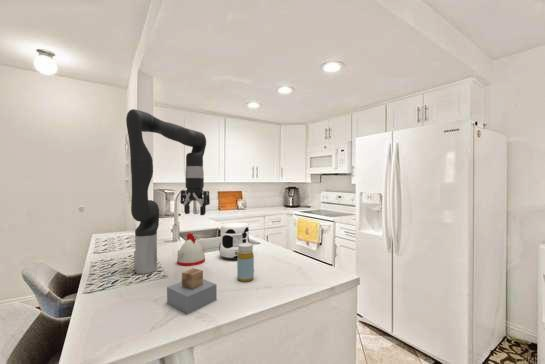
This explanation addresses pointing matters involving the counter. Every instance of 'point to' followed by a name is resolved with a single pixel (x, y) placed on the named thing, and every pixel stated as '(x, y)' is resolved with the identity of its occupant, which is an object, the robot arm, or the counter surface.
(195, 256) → the kitchen timer
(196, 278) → the walnut cube
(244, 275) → the bottle
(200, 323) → the counter surface
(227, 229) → the milk container
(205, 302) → the gray square block
